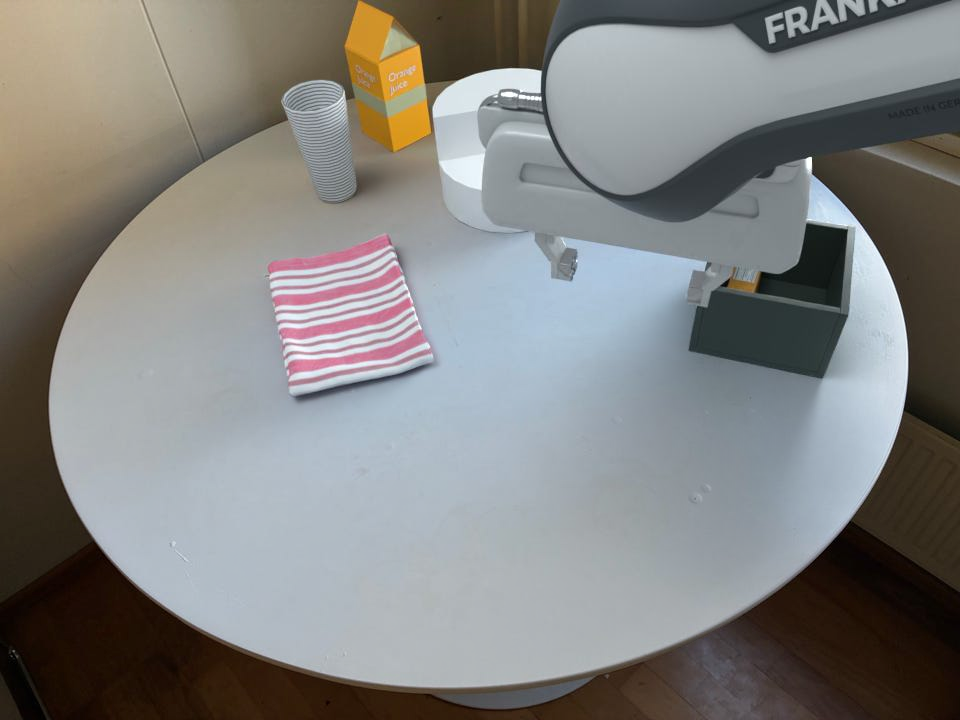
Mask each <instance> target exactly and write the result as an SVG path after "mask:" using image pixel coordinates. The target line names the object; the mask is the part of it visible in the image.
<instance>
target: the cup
mask: <svg viewBox="0 0 960 720" xmlns="http://www.w3.org/2000/svg"><path fill="white" fill-rule="evenodd" d="M281 104H282V107H283V109H284V112H285V115H286V118H287V119H288V122H289V125H290V127H291V130H292V132H293V135H294V138H295V142H296V144H297V146H298V148H299V151H300V155H301V156H302V158H303V161H304V164H305V166H306V167H305V168H306V169H307V172H308V175H309V177H310V180H311V182H312V185H313V188H314V190H315V193H316V195H317V198H318V199H320V200H321V201H322V202H325V203H330V204H333V203H335V204H336V203H341V202H344V201H347V200H348V199H350V198H352V197H353V196H354V195H355V194H356V192H357V188H358V185H357V184H358V183H357V176H356V169H355V161H354V154H353V145H352V137H351V131H350V123H349V116H348V106H347V100H346V92H345V89H344V87H343V86H342V84H340V83H339V82H336V81H334V80H330V79H324V78H323V79H311V80H307V81H306V80H305V81H303V82H299V83H297V84H295V85H292V86H290V88H288V89H287V90H286V91H285V92H284V93H283V95H282V98H281Z"/></svg>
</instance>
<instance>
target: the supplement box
mask: <svg viewBox="0 0 960 720" xmlns="http://www.w3.org/2000/svg"><path fill="white" fill-rule="evenodd" d="M761 272H762V271H757V270H751V269H745V268H740V267H734V269H733V274H732V276H731V278H730V281H729V283H728V286H727V288H731V289H736V290H742V291H747V292H753V293H757V291H758V287H759V284H760V277H761Z"/></svg>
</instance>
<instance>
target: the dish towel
mask: <svg viewBox="0 0 960 720" xmlns="http://www.w3.org/2000/svg"><path fill="white" fill-rule="evenodd" d="M267 271H268V273H269V277H268V281H269V288H270V293H271V294H270V295H271V302H272V306H273V309H274V315H275V322H276V324H277V332H278V335H279V340H280V342H281V346H282V357H283V361H284V363H283V364H284V369H285V373H286V376H287V380H288V381H287V388H288V393H289V396H290V397H298V396H304V395H307V394H313V393H317V392H322V391H325V390H328V389H334V388H337V387H342V386H347V385H352V384H356V383H360V382H361V383H362V382H365V381H370V380H376V379H380V378H383V377H384V378H386V377H388V376H389V377H390V376H395V375H399V374H402V373H405V372H407V371H410V370H413V369H416V368H419V367H421V366H424V365H428V364H433V362H434V355H433V352H432V349H431V345H430V344H429V342H428V341H427V339H426V337H425V335H424V332H423V328H422V326H421V324H420V322H419V318H418V316H417V313H416V308H415V306H414V301H413V298H412V296H411V292H410V290H409V289H408V285H407V283H406V277H405V275H404V271H403V269H402V267H401V265H400V263H399V260H398V255H397V253H396V248H395V246H394V244H393V242H392V240H391V238H390V237H389V235H388V233H387V232H386V233H383V234H380V235H378V236H376V237H373V238H372V239H370V240H367V241H365V242H362V243H361V242H360V243H357V244H356V245H355V244H354V245H352V246H351V247H348V248H346V249H343V250H339V251H331V252H326V253H323V254H319V255H314V256H310V257H309V256H308V257H293V258H284V259H277V260H273V261H272V262H270V263H269V264H268V265H267Z"/></svg>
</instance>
